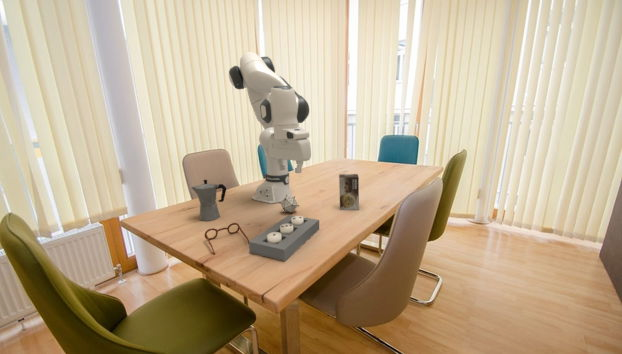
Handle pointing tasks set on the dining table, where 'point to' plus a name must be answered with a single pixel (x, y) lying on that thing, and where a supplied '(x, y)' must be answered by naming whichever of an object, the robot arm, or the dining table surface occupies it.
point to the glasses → (223, 229)
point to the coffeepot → (209, 200)
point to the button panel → (284, 239)
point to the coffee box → (349, 191)
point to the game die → (289, 204)
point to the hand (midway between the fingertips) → (290, 171)
